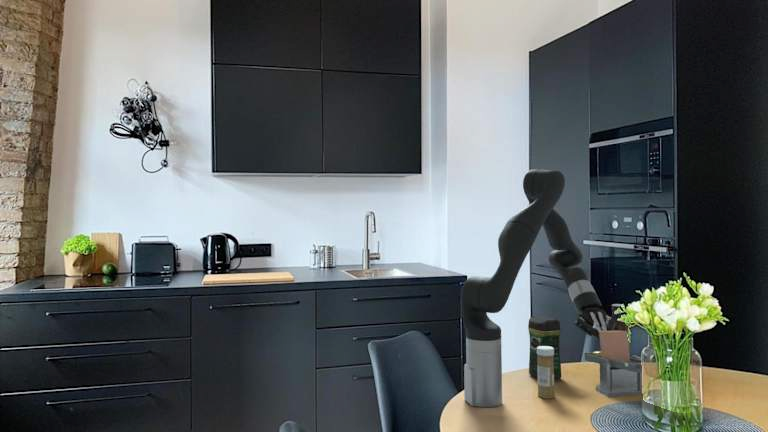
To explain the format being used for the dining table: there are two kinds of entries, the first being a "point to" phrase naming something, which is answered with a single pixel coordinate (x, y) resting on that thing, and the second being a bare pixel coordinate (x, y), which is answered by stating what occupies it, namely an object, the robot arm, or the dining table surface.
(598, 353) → the brass weight
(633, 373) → the fulcrum
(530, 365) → the coffee jar
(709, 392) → the dining table surface
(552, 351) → the sprinkles bottle
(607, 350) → the brown rectangular block
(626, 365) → the beam
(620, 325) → the sauce bottle
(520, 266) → the robot arm
